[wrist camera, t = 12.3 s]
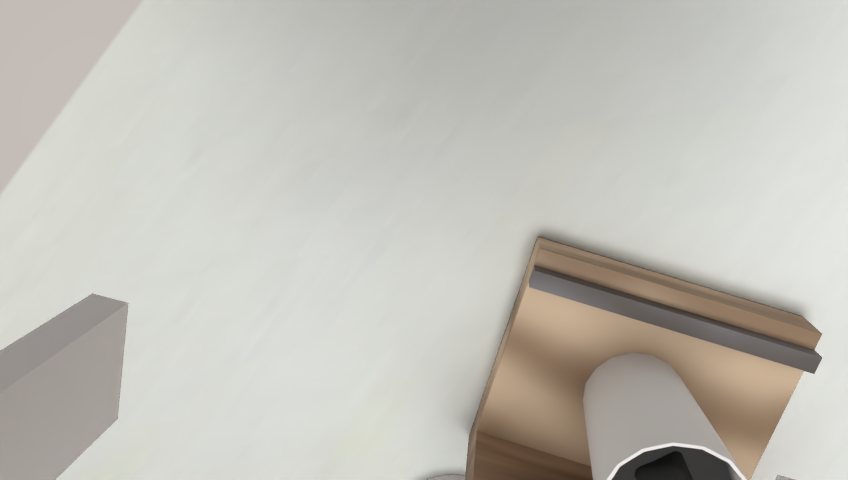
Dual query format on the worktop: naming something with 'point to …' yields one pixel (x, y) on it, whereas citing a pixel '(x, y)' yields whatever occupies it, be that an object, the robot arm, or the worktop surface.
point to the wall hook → (448, 477)
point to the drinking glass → (650, 425)
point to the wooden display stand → (621, 334)
